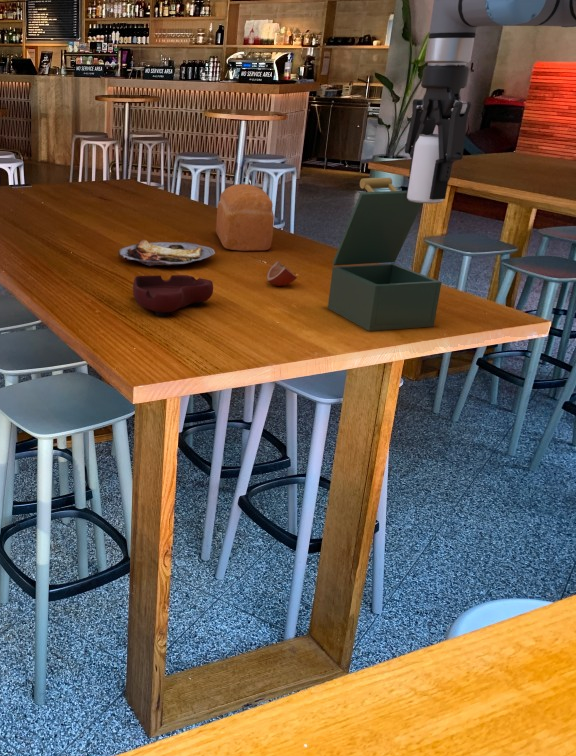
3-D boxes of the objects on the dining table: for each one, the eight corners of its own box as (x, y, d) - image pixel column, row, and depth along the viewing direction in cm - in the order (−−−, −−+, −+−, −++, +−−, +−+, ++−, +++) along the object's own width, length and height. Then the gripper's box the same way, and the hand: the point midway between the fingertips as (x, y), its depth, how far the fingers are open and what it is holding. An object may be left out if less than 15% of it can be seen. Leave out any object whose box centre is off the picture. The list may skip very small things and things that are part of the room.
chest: (433, 326, 155) (441, 282, 152) (369, 331, 152) (375, 285, 149) (387, 304, 170) (393, 263, 166) (327, 308, 167) (332, 266, 164)
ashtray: (160, 290, 181) (161, 268, 179) (219, 303, 170) (220, 281, 169) (107, 305, 170) (107, 282, 168) (166, 321, 159) (168, 297, 157)
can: (446, 200, 151) (457, 134, 146) (440, 204, 146) (452, 136, 141) (410, 197, 154) (420, 133, 150) (403, 202, 149) (413, 135, 144)
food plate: (103, 263, 206) (103, 249, 205) (140, 246, 225) (141, 234, 224) (194, 274, 195) (195, 260, 194) (225, 256, 214) (226, 243, 212)
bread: (222, 251, 219) (226, 193, 213) (214, 232, 243) (217, 180, 238) (273, 252, 218) (278, 193, 212) (259, 233, 242) (264, 180, 236)
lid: (427, 192, 154) (408, 170, 159) (362, 194, 151) (345, 172, 156) (394, 262, 166) (378, 240, 171) (333, 265, 163) (318, 243, 169)
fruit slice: (262, 280, 189) (264, 259, 187) (291, 280, 189) (293, 260, 187) (269, 289, 181) (271, 268, 180) (299, 289, 181) (301, 268, 179)
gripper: (503, 64, 133) (477, 203, 141) (432, 64, 150) (412, 188, 159) (463, 64, 131) (439, 204, 140) (396, 65, 149) (378, 189, 158)
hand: (425, 195), depth 149 cm, fingers closed on can, 6 cm apart
